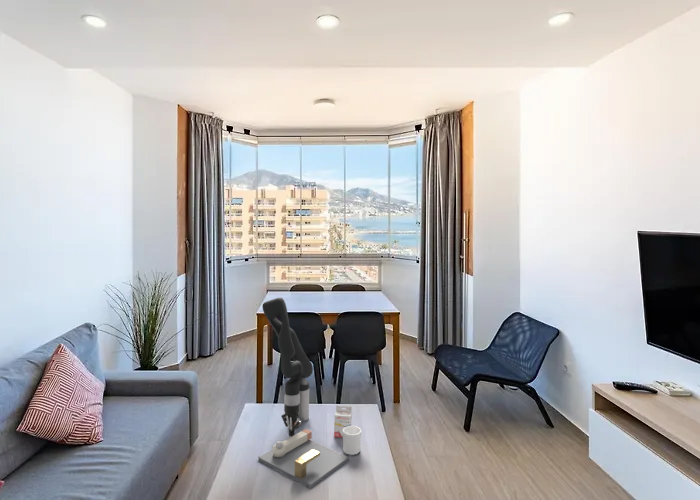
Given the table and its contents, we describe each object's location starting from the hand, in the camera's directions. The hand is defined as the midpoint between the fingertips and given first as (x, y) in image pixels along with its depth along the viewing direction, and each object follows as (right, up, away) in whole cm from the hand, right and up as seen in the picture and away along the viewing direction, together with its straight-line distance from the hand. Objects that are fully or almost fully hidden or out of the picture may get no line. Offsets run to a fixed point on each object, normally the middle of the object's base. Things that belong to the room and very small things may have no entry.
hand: (291, 436), depth 203 cm
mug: (+30, -4, -6) cm, 31 cm away
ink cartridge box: (+25, -3, +8) cm, 27 cm away
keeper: (+10, -5, -26) cm, 29 cm away
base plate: (+8, -4, -16) cm, 18 cm away
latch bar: (+1, -1, -8) cm, 8 cm away
